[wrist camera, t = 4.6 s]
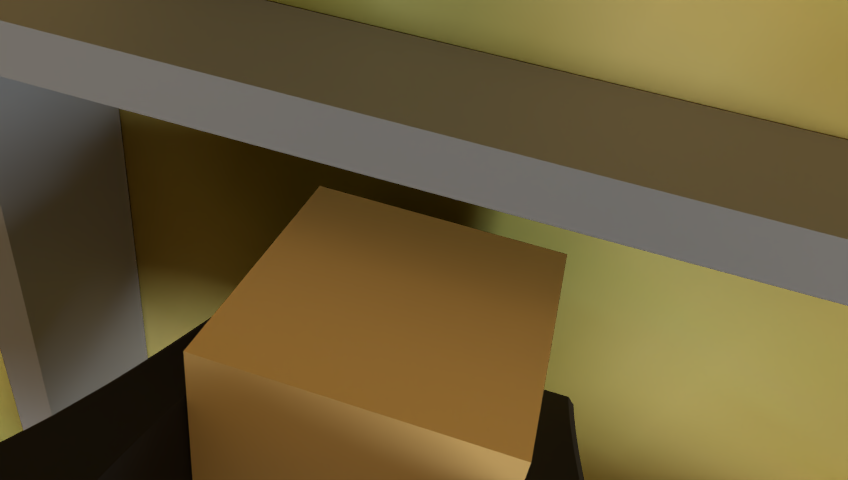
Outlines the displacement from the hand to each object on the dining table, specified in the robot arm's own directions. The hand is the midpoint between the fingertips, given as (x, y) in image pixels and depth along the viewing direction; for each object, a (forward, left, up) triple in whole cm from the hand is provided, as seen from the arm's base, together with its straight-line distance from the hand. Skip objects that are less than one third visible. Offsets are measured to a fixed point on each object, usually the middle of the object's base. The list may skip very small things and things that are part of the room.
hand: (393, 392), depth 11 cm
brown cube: (0, 0, -2) cm, 2 cm away
